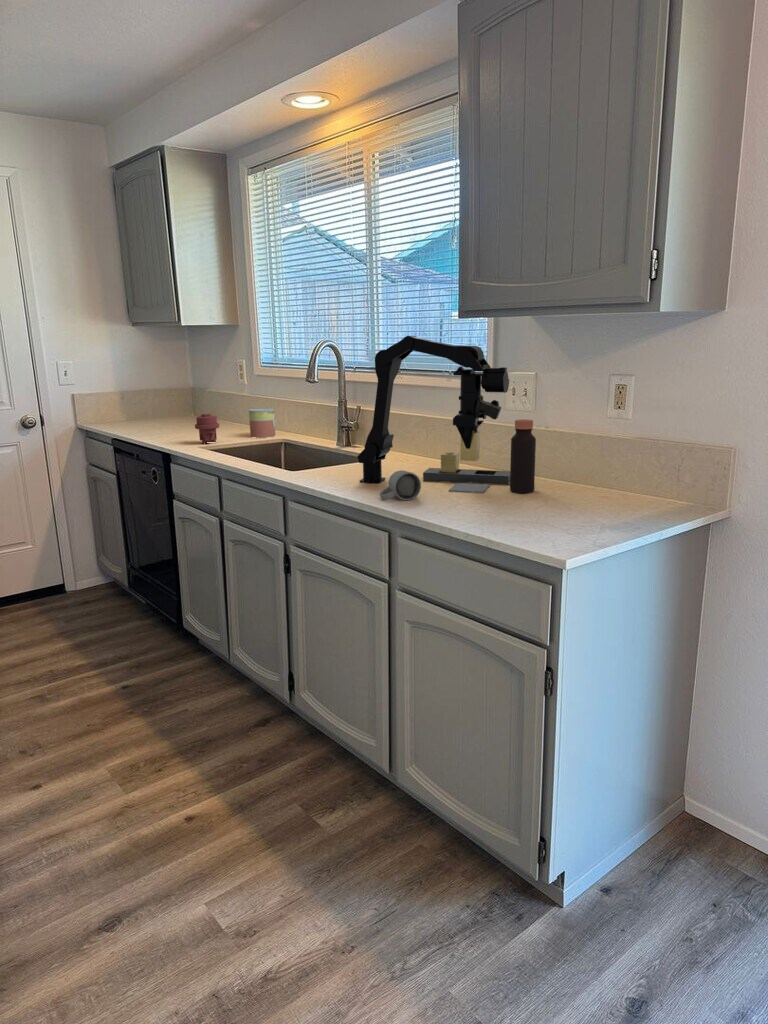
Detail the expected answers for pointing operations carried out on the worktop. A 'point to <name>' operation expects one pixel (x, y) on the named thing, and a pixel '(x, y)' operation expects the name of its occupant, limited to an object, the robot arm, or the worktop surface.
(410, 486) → the ceramic mug
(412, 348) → the robot arm
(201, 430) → the mechanical component
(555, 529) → the worktop surface
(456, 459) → the khaki square post block
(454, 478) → the rack rail
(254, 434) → the canned food
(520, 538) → the worktop surface
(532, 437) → the bottle
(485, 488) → the grey pad
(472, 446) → the olive beige rectangular block
